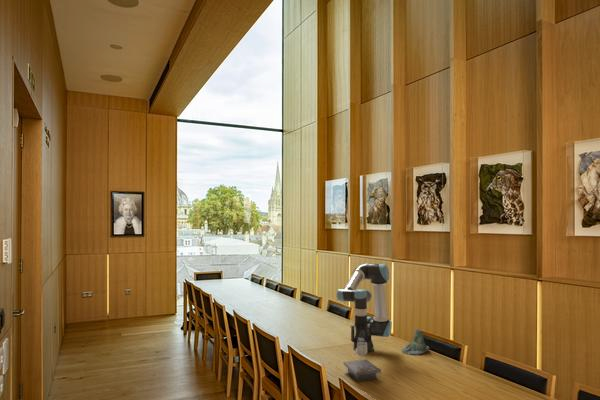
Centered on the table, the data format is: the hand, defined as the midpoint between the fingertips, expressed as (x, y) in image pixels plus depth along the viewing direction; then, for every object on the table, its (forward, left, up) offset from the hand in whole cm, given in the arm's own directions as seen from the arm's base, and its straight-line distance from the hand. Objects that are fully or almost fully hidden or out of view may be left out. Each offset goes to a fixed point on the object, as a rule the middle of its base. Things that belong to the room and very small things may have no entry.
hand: (361, 352), depth 260 cm
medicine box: (0, 0, -1) cm, 1 cm away
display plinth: (0, 0, -14) cm, 14 cm away
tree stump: (-34, +58, -14) cm, 69 cm away
